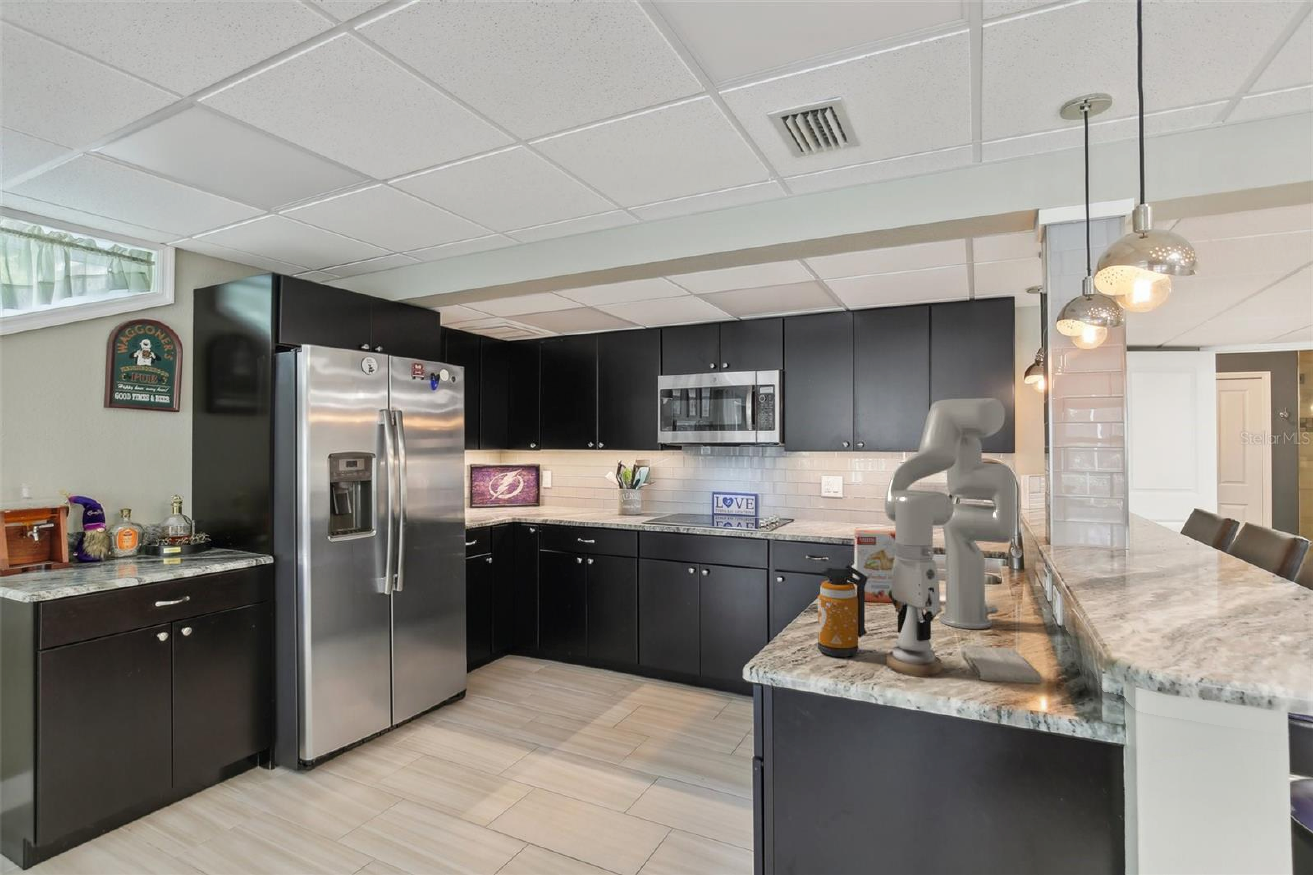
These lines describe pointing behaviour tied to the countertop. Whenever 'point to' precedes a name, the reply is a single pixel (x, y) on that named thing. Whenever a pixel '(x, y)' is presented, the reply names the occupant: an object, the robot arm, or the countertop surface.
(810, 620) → the countertop surface
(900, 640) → the flask
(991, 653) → the washcloth
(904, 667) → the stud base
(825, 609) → the canister
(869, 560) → the cracker box
